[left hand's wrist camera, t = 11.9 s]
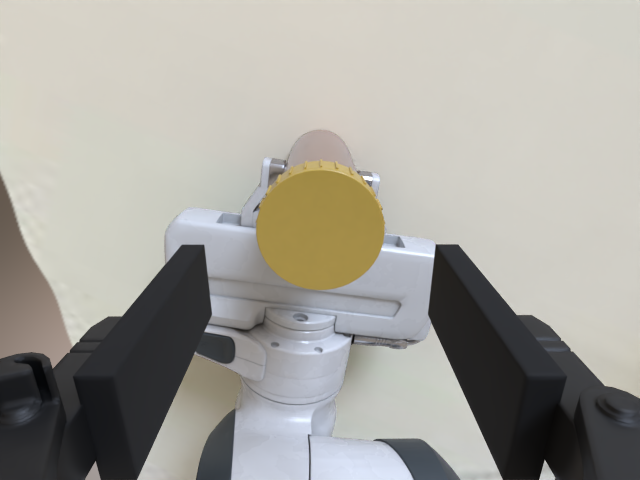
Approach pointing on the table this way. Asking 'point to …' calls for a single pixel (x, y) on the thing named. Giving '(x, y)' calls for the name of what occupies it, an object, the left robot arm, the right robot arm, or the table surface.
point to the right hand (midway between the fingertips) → (321, 166)
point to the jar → (320, 150)
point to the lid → (320, 225)
